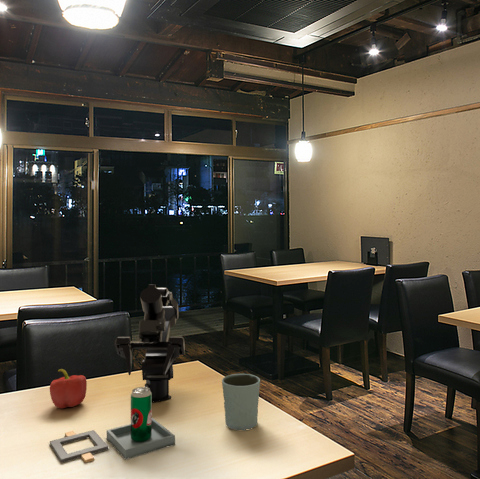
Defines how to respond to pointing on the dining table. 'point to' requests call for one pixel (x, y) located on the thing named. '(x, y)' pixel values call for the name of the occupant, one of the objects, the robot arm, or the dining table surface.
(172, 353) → the robot arm
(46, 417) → the dining table surface
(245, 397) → the grey-green cup
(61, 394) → the vegetable
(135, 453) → the parts tray
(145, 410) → the soda can
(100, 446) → the grey rectangular frame
